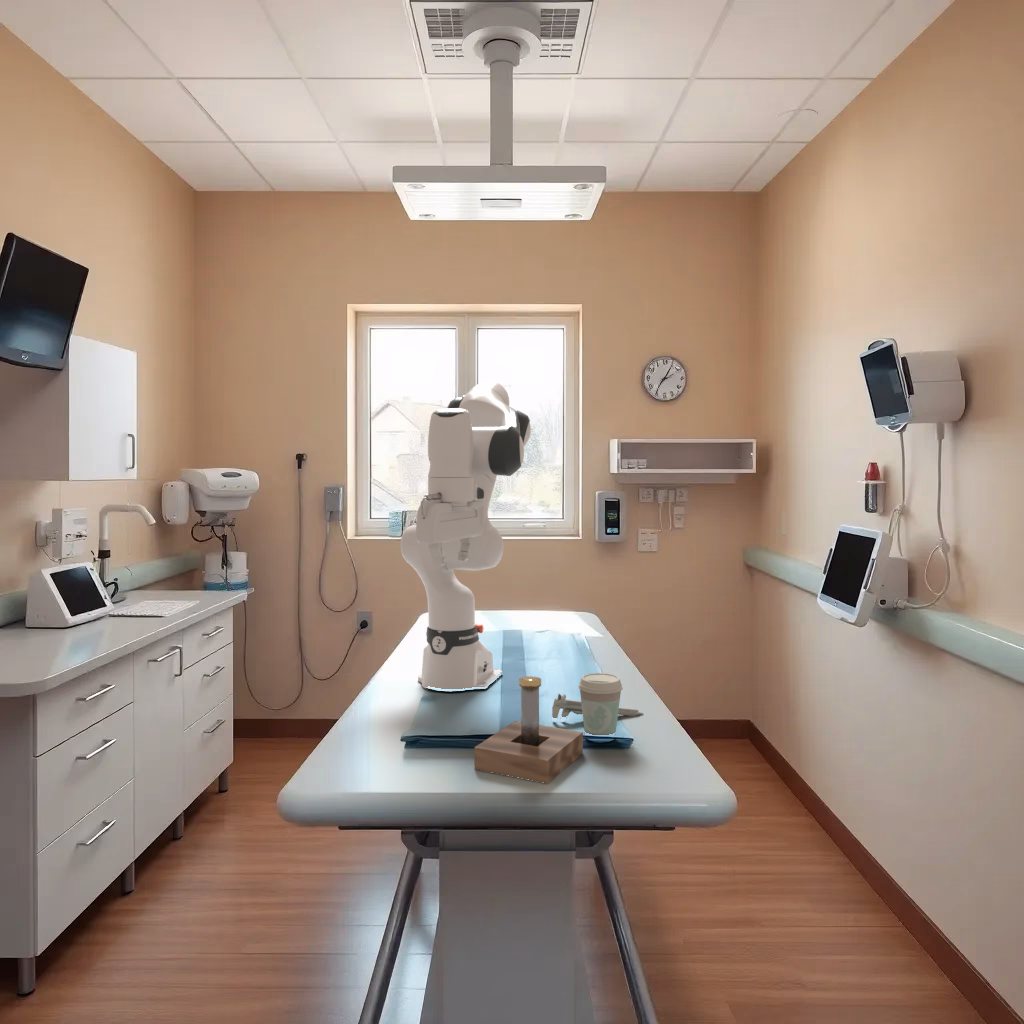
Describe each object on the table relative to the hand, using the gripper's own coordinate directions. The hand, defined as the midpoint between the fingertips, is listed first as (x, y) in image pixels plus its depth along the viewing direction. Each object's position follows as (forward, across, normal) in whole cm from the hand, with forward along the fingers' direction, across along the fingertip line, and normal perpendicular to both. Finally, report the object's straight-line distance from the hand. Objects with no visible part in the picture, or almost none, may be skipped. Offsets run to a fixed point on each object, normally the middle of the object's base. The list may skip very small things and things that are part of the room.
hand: (451, 563), depth 160 cm
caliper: (+35, +22, -22) cm, 47 cm away
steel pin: (+34, -6, -20) cm, 40 cm away
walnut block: (+34, -6, -20) cm, 40 cm away
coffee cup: (+34, +11, -27) cm, 45 cm away
